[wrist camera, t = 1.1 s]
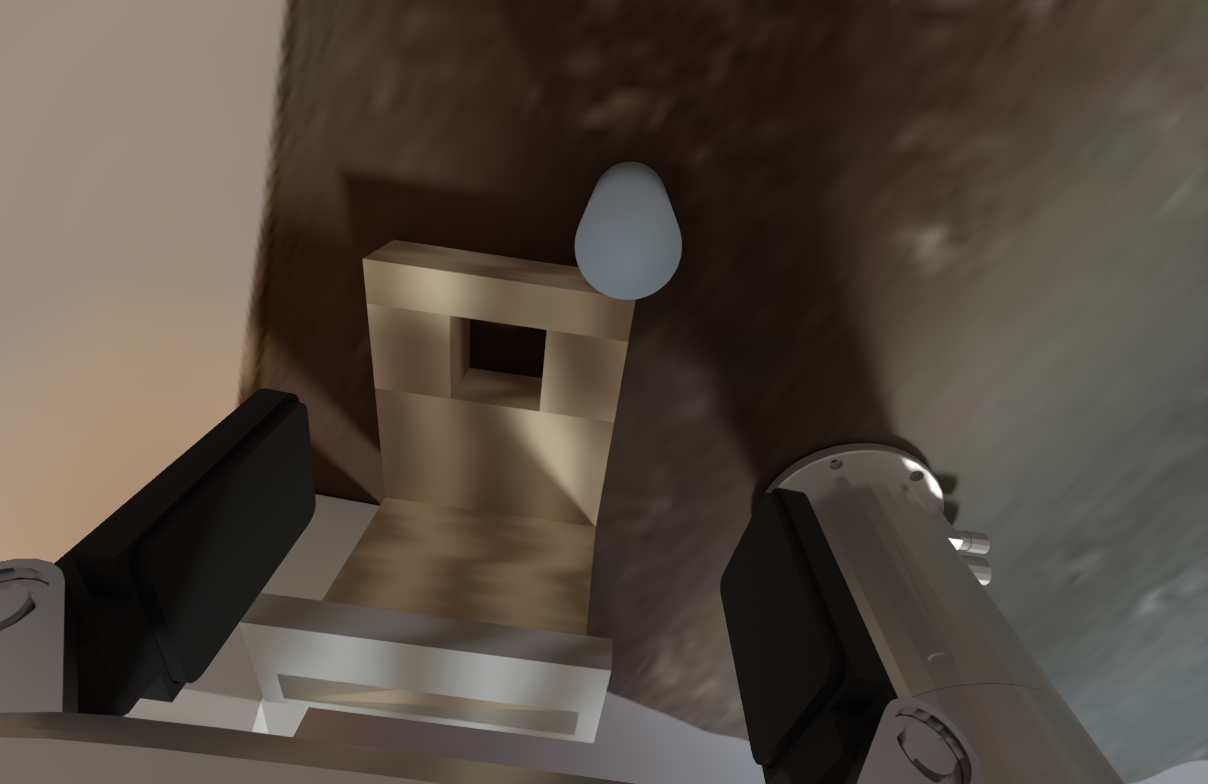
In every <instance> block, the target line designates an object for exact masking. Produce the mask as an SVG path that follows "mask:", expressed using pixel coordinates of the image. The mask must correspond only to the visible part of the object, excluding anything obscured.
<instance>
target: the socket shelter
mask: <svg viewBox="0 0 1208 784" xmlns="http://www.w3.org/2000/svg"><path fill="white" fill-rule="evenodd" d="M363 269H364V280H365V290H366V301H367V311H368V322H369V332H370V342H371V353H372V363H373V374H374V384H375V395H376V405H377V415H378V426H379V436H380V447H381V457H382V468H383V478H384V488H385V499H384V501H383V502H382V504H381V506H380V507H379V509H378V510H377V512H376V514H375V515H374V517H373V518H372V520H371V522H370V523H369V525H368V527H367V528H366V530H365V531H364V533H363V535H362V536H361V538H360V539H359V541H358V543H357V544H356V546H355V548H354V549H353V551H352V552H351V554H350V556H349V557H348V559H347V560H346V562H345V564H344V565H343V567H342V569H341V570H340V572H339V573H338V575H337V577H336V578H335V580H334V581H333V583H332V585H331V586H330V588H329V590H328V591H327V593H326V594H325V596H324V598H323V599H322V601H320V600H312V599H305V598H297V597H290V596H282V595H274V594H267V593H260V594H259V595H258V597H257V598H256V600H255V601H254V602H253V604H252V605H251V607H250V608H249V610H248V611H247V612H246V614H245V615H244V617H243V618H242V619H241V621H240V622H239V626H240V629H241V632H242V635H243V638H244V641H245V644H246V647H247V650H248V653H249V656H250V659H251V662H252V665H253V668H254V671H255V674H256V677H257V680H258V683H259V686H260V689H261V692H262V695H263V698H264V701H266V702H274V703H282V704H289V705H297V706H305V707H313V708H321V709H329V710H337V711H344V712H353V713H360V714H368V715H376V716H384V717H391V718H399V719H407V720H416V721H423V722H431V723H439V724H447V725H454V726H462V727H470V728H478V729H486V730H493V731H501V732H509V733H517V734H525V735H533V736H541V737H548V738H556V739H564V740H573V741H580V742H588V743H594V739H595V735H596V731H597V727H598V723H599V719H600V715H601V711H602V707H603V702H604V699H605V694H606V690H607V686H608V682H609V678H610V674H611V664H612V639H606V638H598V637H591V636H586V629H587V618H588V606H589V595H590V584H591V573H592V561H593V550H594V539H595V527H596V521H597V516H598V510H599V504H600V499H601V493H602V487H603V482H604V476H605V470H606V465H607V459H608V453H609V448H610V442H611V437H612V431H613V425H614V420H615V414H616V408H617V403H618V397H619V391H620V386H621V380H622V374H623V369H624V363H625V357H626V352H627V346H628V340H629V335H630V329H631V323H632V318H633V312H634V307H635V301H636V299H634V300H622V299H616V298H612V297H609V296H607V295H605V294H603V293H601V292H599V291H598V290H596V289H595V288H594V287H593V286H592V285H590V283H589V282H588V281H587V280H586V279H585V277H584V276H583V274H582V273H581V271H580V269H579V268H578V267H572V266H565V265H558V264H552V263H545V262H538V261H532V260H525V259H519V258H512V257H505V256H499V255H492V254H485V253H479V252H472V251H466V250H459V249H452V248H446V247H439V246H432V245H426V244H419V243H413V242H406V241H399V240H393V241H391V242H390V243H388V244H386V245H384V246H383V247H381V248H379V249H378V250H376V251H374V252H373V253H371V254H369V255H368V256H366V257H364V258H363ZM470 319H476V320H483V321H490V322H497V323H504V324H510V325H517V326H524V327H531V328H537V329H544V330H547V333H546V344H545V355H544V367H543V378H538V377H531V376H524V375H517V374H510V373H503V372H496V371H489V370H482V369H476V368H470Z"/></svg>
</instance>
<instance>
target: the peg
mask: <svg viewBox="0 0 1208 784" xmlns="http://www.w3.org/2000/svg"><path fill="white" fill-rule="evenodd" d="M681 252H682V239H681V233H680V229H679V226H678V223H677V221H676V218H675V215H674V212H673V209H672V206H671V204H670V201H669V198H668V195H667V192H666V189H665V187H664V184H663V182H662V180H661V178H660V177H659V176H658V174H657V173H656V172H655V171H654V170H653V169H651V168H650V167H648V166H646V165H644V164H642V163H638V162H622V163H619V164H616V165H614V166H612V167H611V168H609V169H608V170H607V171H606V172H604V173H603V175H602V176H601V177H600V179H599V180H598V182H597V184H596V186H595V189H594V191H593V193H592V196H591V198H590V200H589V203H588V205H587V208H586V210H585V212H584V215H583V217H582V219H581V222H580V224H579V227H578V230H577V233H576V238H575V255H576V260H577V263H578V266H579V269H580V271H581V273H582V274H583V276H584V277H585V279H586V280H587V281H588V282H589V283H590V285H592V286H593V287H594V288H595V289H596V290H598V291H599V292H601V293H603V294H605V295H607V296H609V297H612V298H616V299H622V300H634V299H640V298H643V297H646V296H649V295H651V294H653V293H655V292H656V291H658V290H659V289H661V288H662V287H663V286H664V285H665V284H666V283H667V282H668V281H669V280H670V279H671V277H672V276H673V274H674V273H675V271H676V269H677V267H678V264H679V261H680V258H681Z"/></svg>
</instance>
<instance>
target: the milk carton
mask: <svg viewBox="0 0 1208 784" xmlns="http://www.w3.org/2000/svg"><path fill="white" fill-rule="evenodd" d="M315 499H316V508H315V512H314V515H313V517H312V520H311V521H310V523H309V524H308V526H307V527H306V529H305V530H304V531H303V533H302V534H301V536H300V537H299V539H298V540H297V541H296V543H295V544H294V546H293V547H292V549H291V550H290V551H289V553H288V554H287V556H286V557H285V558H284V560H283V561H282V563H281V564H280V566H279V567H278V568H277V570H276V571H275V573H274V574H273V575H272V577H271V578H270V580H269V581H268V583H267V584H266V585H265V587H264V588H263V590H262V591H261V593H267V594H274V595H282V596H290V597H297V598H305V599H312V600H320V601H322V599H323V598H324V596H325V594H326V593H327V591H328V590H329V588H330V586H331V585H332V583H333V581H334V580H335V578H336V577H337V575H338V573H339V572H340V570H341V569H342V567H343V565H344V564H345V562H346V560H347V559H348V557H349V556H350V554H351V552H352V551H353V549H354V548H355V546H356V544H357V543H358V541H359V539H360V538H361V536H362V535H363V533H364V531H365V530H366V528H367V527H368V525H369V523H370V522H371V520H372V518H373V517H374V515H375V514H376V512H377V510H378V509H379V507H380V506H377V505H373V504H367V503H362V502H356V501H351V500H345V499H339V498H334V497H328V496H323V495H317V494H315ZM307 709H308V707H305V706H297V705H289V704H282V703H274V702H266V701H264V698H263V695H262V692H261V689H260V686H259V683H258V680H257V677H256V674H255V671H254V668H253V665H252V662H251V659H250V656H249V653H248V650H247V647H246V644H245V641H244V638H243V635H242V632H241V629H240V626H239V624H238V625H237V627H236V628H235V629H234V631H233V632H232V634H231V635H230V636H229V638H228V639H227V641H226V642H225V644H224V645H223V646H222V648H221V649H220V651H219V652H218V654H217V655H216V656H215V658H214V659H213V661H212V662H211V663H210V665H209V666H208V668H207V669H206V671H205V672H204V673H203V674H202V676H201V677H200V678H199V679H198V680H197V681H195V682H193V683H186V684H185V686H184V687H183V688H182V690H181V691H180V693H179V694H178V695H177V697H176V698H175V699H174V701H173V702H172V703H171V702H164V701H156V700H149V699H142V698H140V699H139V701H138V702H137V703H136V704H135V706H134V707H133V708H132V710H131V711H130V712H129V713H128V714H126V715H125V717H130V718H139V719H148V720H156V721H165V722H174V723H183V724H192V725H201V726H209V727H218V728H227V729H234V730H242V731H249V732H257V733H265V734H272V735H280V736H288V737H293V735H294V733H295V732H296V730H297V728H298V726H299V724H300V722H301V720H302V718H303V717H304V715H305V713H306V711H307Z"/></svg>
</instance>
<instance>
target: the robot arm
mask: <svg viewBox="0 0 1208 784" xmlns="http://www.w3.org/2000/svg"><path fill="white" fill-rule="evenodd" d="M315 508H316V499H315V488H314V477H313V466H312V455H311V445H310V434H309V423H308V412H307V407H306V405H305V404H303V403H299V399H298V397H297V395H295V394H292V393H287V392H281V391H276V390H271V389H266V388H264V389H260V390H258V391H257V392H255V393H254V394H253V395H252V396H251V397H249V398H248V399H247V400H246V401H245V402H244V403H242V404H241V405H240V406H239V407H238V408H237V409H235V410H234V411H233V412H232V413H231V414H230V415H228V416H227V417H226V418H225V419H224V420H223V421H221V422H220V423H219V424H218V425H217V426H215V427H214V428H213V429H212V430H211V431H210V432H208V433H207V434H206V435H205V436H204V437H203V438H201V439H200V440H199V441H198V442H197V443H195V445H193V446H192V447H191V448H190V449H188V450H187V451H186V452H185V453H184V454H182V455H181V456H180V457H179V458H178V459H177V460H175V461H174V462H173V463H172V464H171V465H169V466H168V467H167V468H166V469H165V470H164V471H162V472H161V473H160V474H159V475H158V476H156V477H155V478H154V479H153V480H152V481H151V482H149V483H148V484H147V485H146V486H145V487H144V488H142V489H141V490H140V491H139V492H138V493H137V494H135V495H134V496H133V497H132V498H131V499H130V500H128V501H127V502H126V503H125V504H124V505H122V506H121V507H120V508H119V509H118V510H117V511H115V512H114V513H113V514H112V515H111V516H109V517H108V518H107V519H106V520H105V521H104V522H102V523H101V524H100V525H99V526H98V527H97V528H95V529H94V530H93V531H92V532H91V533H90V534H88V535H87V536H86V537H85V538H84V539H82V540H81V541H80V542H79V543H78V544H77V545H76V546H74V547H73V548H72V549H71V550H70V551H68V552H67V553H66V554H65V555H64V556H63V557H61V558H60V559H59V560H58V561H57V562H55V563H54V564H53V563H52V562H48V561H43V560H39V559H12V560H7V561H1V562H0V784H632V783H626V782H619V781H611V780H605V779H598V778H590V777H584V776H576V775H569V774H562V773H555V772H548V771H540V770H533V769H526V768H519V767H510V766H504V765H497V764H489V763H482V762H475V761H468V760H460V759H453V758H444V757H438V756H431V755H423V754H416V753H409V752H401V751H394V750H386V749H379V748H371V747H364V746H356V745H348V744H341V743H333V742H326V741H318V740H310V739H303V738H295V737H288V736H280V735H272V734H265V733H257V732H249V731H242V730H234V729H227V728H218V727H209V726H201V725H192V724H183V723H174V722H165V721H156V720H148V719H139V718H130V717H125V715H126V714H128V713H129V712H130V711H131V710H132V708H133V707H134V706H135V704H136V703H137V702H138V701H139V699H140V698H142V699H149V700H156V701H164V702H171V703H172V702H173V701H174V699H175V698H176V697H177V695H178V694H179V693H180V691H181V690H182V688H183V687H184V686H185V684H186V683H193V682H195V681H197V680H198V679H199V678H200V677H201V676H202V674H203V673H204V672H205V671H206V669H207V668H208V666H209V665H210V663H211V662H212V661H213V659H214V658H215V656H216V655H217V654H218V652H219V651H220V649H221V648H222V646H223V645H224V644H225V642H226V641H227V639H228V638H229V636H230V635H231V634H232V632H233V631H234V629H235V628H236V627H237V625H238V624H239V622H240V621H241V619H242V618H243V617H244V615H245V614H246V612H247V611H248V610H249V608H250V607H251V605H252V604H253V602H254V601H255V600H256V598H257V597H258V595H259V594H260V593H261V591H262V590H263V588H264V587H265V585H266V584H267V583H268V581H269V580H270V578H271V577H272V575H273V574H274V573H275V571H276V570H277V568H278V567H279V566H280V564H281V563H282V561H283V560H284V558H285V557H286V556H287V554H288V553H289V551H290V550H291V549H292V547H293V546H294V544H295V543H296V541H297V540H298V539H299V537H300V536H301V534H302V533H303V531H304V530H305V529H306V527H307V526H308V524H309V523H310V521H311V520H312V517H313V515H314V512H315ZM943 511H944V497H943V492H942V489H941V487H940V485H939V482H938V480H937V479H936V478H935V477H934V475H933V474H932V473H931V471H930V470H929V469H928V468H927V467H926V466H925V465H924V464H923V463H922V462H921V461H920V460H919V459H918V458H916V457H914V456H913V455H911V454H909V453H907V452H906V451H904V450H901V449H898V448H895V447H892V446H888V445H881V444H874V443H852V444H846V445H839V446H834V447H830V448H827V449H824V450H821V451H818V452H815V453H813V454H811V455H809V456H807V457H805V458H802V459H800V460H799V461H797V462H796V463H794V464H793V465H791V466H790V467H788V468H787V469H785V470H784V471H783V472H782V473H781V474H780V475H779V476H778V477H777V478H776V479H775V480H774V481H773V482H772V484H771V485H770V486H769V488H768V489H767V490H766V492H765V494H764V495H763V496H762V498H761V500H760V502H759V504H758V506H757V508H756V510H755V512H754V514H753V516H752V518H751V520H750V522H749V524H748V526H747V528H746V530H745V532H744V534H743V536H742V538H741V539H740V541H739V543H738V545H737V547H736V549H735V551H734V553H733V555H732V557H731V559H730V561H729V563H728V565H727V567H726V569H725V571H724V573H723V575H722V578H721V584H720V591H721V597H722V602H723V608H724V613H725V618H726V623H727V628H728V633H729V638H730V643H731V649H732V654H733V659H734V664H735V669H736V674H737V679H738V684H739V690H740V695H741V700H742V705H743V710H744V715H745V720H746V725H747V731H748V736H749V741H750V746H751V751H752V755H753V758H754V760H755V762H756V763H757V764H759V765H762V768H763V773H764V778H765V783H766V784H1125V783H1124V782H1123V781H1122V779H1121V778H1120V777H1119V775H1118V774H1117V773H1116V771H1115V770H1114V769H1113V767H1112V766H1111V765H1110V763H1109V762H1108V760H1107V759H1106V758H1105V756H1104V755H1103V754H1102V752H1101V751H1100V749H1099V748H1098V747H1097V745H1096V744H1095V742H1094V741H1093V740H1092V738H1091V737H1090V735H1089V734H1088V733H1087V731H1086V730H1085V728H1084V727H1083V726H1082V724H1081V723H1080V721H1079V720H1078V719H1077V717H1076V716H1075V714H1074V713H1073V712H1072V710H1071V709H1070V708H1069V706H1068V705H1067V704H1066V702H1065V701H1064V699H1063V698H1062V697H1061V695H1060V694H1059V692H1058V691H1057V690H1056V688H1055V687H1054V685H1053V684H1052V683H1051V681H1050V680H1049V678H1048V677H1047V676H1046V674H1045V673H1044V671H1043V670H1042V669H1041V667H1040V666H1039V664H1038V663H1037V662H1036V660H1035V659H1034V657H1033V656H1032V655H1031V653H1030V652H1029V650H1028V649H1027V648H1026V646H1025V645H1024V643H1023V642H1022V641H1021V639H1020V638H1019V636H1018V635H1017V634H1016V632H1015V631H1014V629H1013V628H1012V627H1011V625H1010V624H1009V622H1008V621H1007V620H1006V618H1005V617H1004V615H1003V614H1002V613H1001V611H1000V610H999V608H998V607H997V606H996V604H995V603H994V601H993V600H992V599H991V597H990V596H989V594H988V593H987V592H986V590H985V589H984V587H983V586H982V585H987V584H988V583H989V582H990V579H991V576H992V573H991V567H990V565H989V563H988V561H986V560H985V559H984V558H980V557H973V556H966V555H960V554H959V552H958V551H957V550H958V549H959V550H962V551H966V552H974V553H981V554H985V553H987V552H988V551H989V548H990V541H989V538H988V536H986V535H985V534H984V533H977V532H970V531H956V530H955V529H954V528H953V527H952V526H951V524H950V523H949V522H948V520H947V519H946V518H945V516H944V515H943Z"/></svg>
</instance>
